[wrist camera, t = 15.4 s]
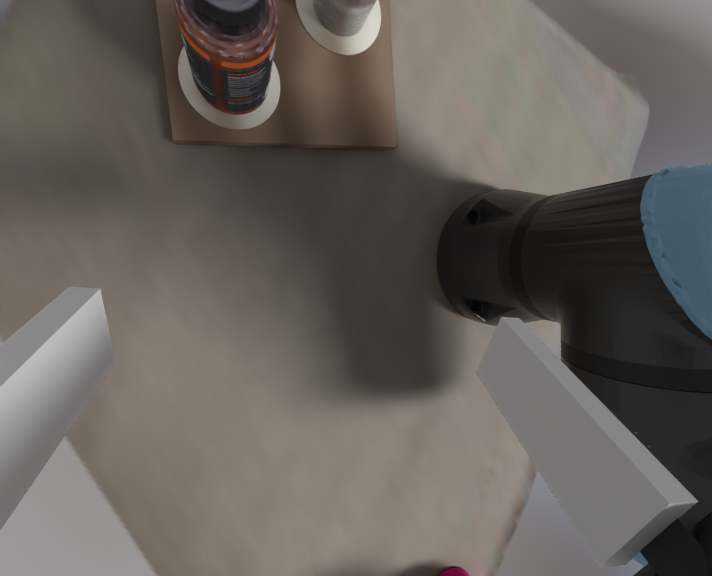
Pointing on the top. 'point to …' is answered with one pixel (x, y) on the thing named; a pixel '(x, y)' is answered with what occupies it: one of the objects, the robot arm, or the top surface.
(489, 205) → the robot arm
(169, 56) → the board
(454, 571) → the pepper mill
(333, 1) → the pin
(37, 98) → the top surface
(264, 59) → the supplement bottle
